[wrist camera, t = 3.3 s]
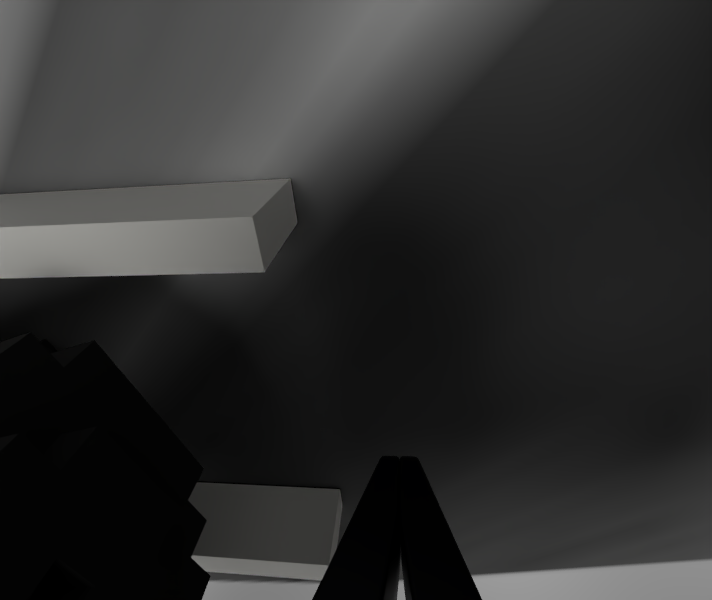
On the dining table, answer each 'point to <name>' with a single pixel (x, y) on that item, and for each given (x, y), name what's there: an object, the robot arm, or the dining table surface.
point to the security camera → (90, 483)
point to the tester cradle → (186, 256)
